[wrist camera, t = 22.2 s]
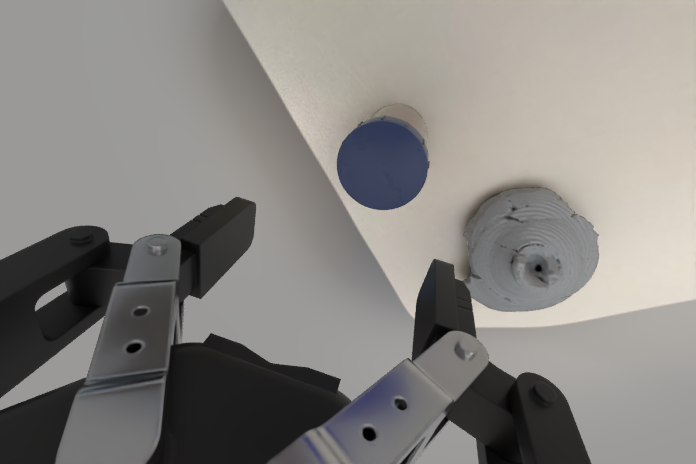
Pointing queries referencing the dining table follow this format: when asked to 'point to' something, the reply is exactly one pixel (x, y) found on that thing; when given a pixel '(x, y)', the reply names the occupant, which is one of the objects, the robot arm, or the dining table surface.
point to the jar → (405, 116)
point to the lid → (383, 163)
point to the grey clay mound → (528, 251)
